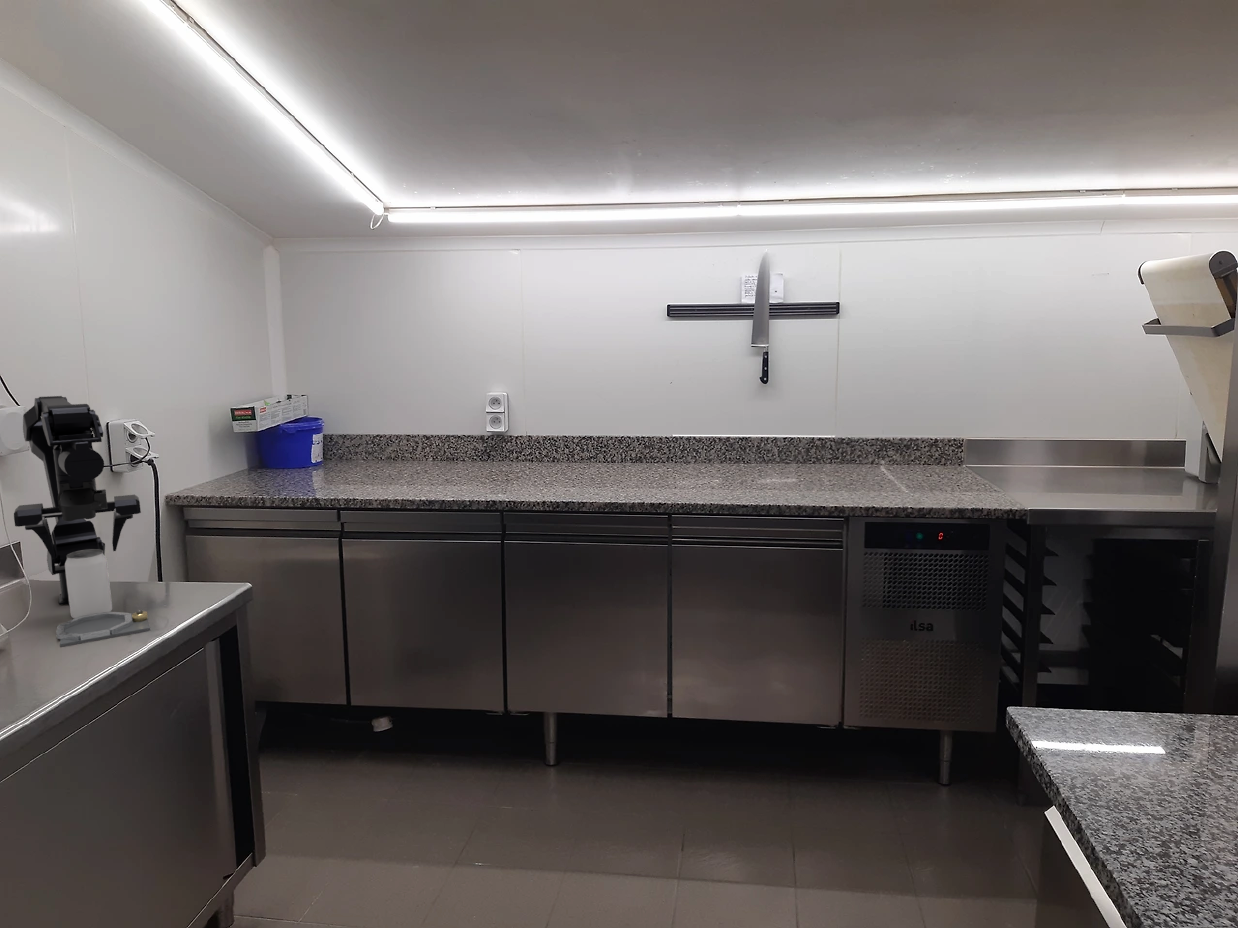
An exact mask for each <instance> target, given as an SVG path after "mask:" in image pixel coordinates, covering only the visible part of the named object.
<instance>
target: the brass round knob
mask: <svg viewBox="0 0 1238 928" xmlns="http://www.w3.org/2000/svg"><path fill="white" fill-rule="evenodd" d="M147 619H148V620H149V615H148V611H147V610H143V609H142V608H141V609H136V610H135V612H133V614H132V621H133V622H142V621H145V620H147Z"/></svg>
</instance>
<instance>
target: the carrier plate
mask: <svg viewBox="0 0 1238 928" xmlns="http://www.w3.org/2000/svg"><path fill="white" fill-rule="evenodd" d="M133 613H134V612H133ZM133 613H131V612H130V614H131V617H132V614H133ZM123 622H125V619H118V618H102V619H96V620H91V621H85V622H81V623H79V624H77V625H74V626H72V627H70V628H67V629H65V631H64V632H66V633H77V634H84V633H90V632H95V631H101V630H106V629H110V628H112V627H114V626H116V625H118V624H121V623H123ZM148 630H150V631H151V627H150V622H149V618H148V619H147V620H145V621H142V622H133V621H132V626H129V627H127V628H125V629H123V630H121V631H119V632H117V633H114V634H110V635H108V636H103V637H97V638H92V639H86V640H79V641H77V640H66V639H59V640H60V641H59V647H60V648H62V647H68V646H74V645H79V644H85V643H90V642H91V643H92V642H95V641H100V640H105V639H112V638H118V637H123V636H127V635H133V634H139V633H143V632H149V631H148Z"/></svg>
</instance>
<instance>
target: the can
mask: <svg viewBox="0 0 1238 928" xmlns="http://www.w3.org/2000/svg"><path fill="white" fill-rule="evenodd" d="M108 567H109V566H108V559H107V557H106V555H105V556H104V554H103V550H100V549H88V550H81V551H76V552H72V553H70V554H68V555H67V560H66V562H65V572H66V580H67V589H68V597H69V603H68V605H69V611H70V617H71V618H72V619H75V618H77V617H81V616H85V615H91V614H97V613H103V612H110V611H111V612H112V610H113V603H112V602H113V600H112V594H111V593H112V591H111V584H110V576H109V568H108Z"/></svg>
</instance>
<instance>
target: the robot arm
mask: <svg viewBox="0 0 1238 928" xmlns="http://www.w3.org/2000/svg"><path fill="white" fill-rule="evenodd" d="M33 403H34V405H33V406H32V407H31V408H29V409H28V410H27V411H26V412H25V413H24V414H23V415H22V416H23V417H22V433H23V438H24V441H25V442H28V444H29V448H30V452H31V453H32V454H33V455H35V456H36V457H37V458H38V459H39V460H41V461H42V462H43V466H44V471H45V476H46V481H47V484H48V485H47V486H48V490H49V495H50V500H51V505H52V507H51V506H50V507H44V505H43V503H41V502H40V503H35V504H34V503H31V504H21V505H20V504H19V505H18V506H17V507H16V508H15V510H14V513H13V519H14V527H19V528H20V527H24V530H25V531H33V533H34V534H36V535H37V536H38V537H39V538H40V540H41V541H42V543H43V544H44V546H45V548H46V549H47V550H46V554H47V555H46V561H47V562H46V563H47V568H48V571H49V572H50V574H51V575H52V576H55V575H58V579H59V584H60V585H59V586H60V593H59V598H58V605H59V606H60V605H61V606H62V605H67V604H68V605H69V597H68V589H67V580H66V572H65V562H66V560H67V555H68V554H70V553H72V552H76V551H81V550H88V549H100V550H103V554H104V556H105V557H106V555H105V552H106V543H105V542H103V541H102V539H101V537H100V536H97V532H96V527H95V526H94V523H93V522H92V521H91V519H94V518H95V517H96V516H97V515H96V514H100V513H109V512H113V521H112V522H113V523H112V540H111V542H112V543H111V544H112V551H113V552H116V551H117V549H118V548H117V547H118V544H119V541H120V536H121V533H122V529H123V527H124V525H125V524H126V522H127V521H128V520H131V519H133V518H134V515H138V514H141V513H142V510H141V502H140V498H139V497H138V496H137V495H136V494H126V495H118V496H117V495H116V496H114V498H113V499H114V500H112V501H108V500H107V490H106V489H105V488H104V489H97V484H96V478H98V477H99V476H100V475H101V474H102V472H103V471H104V468H105V461H104V458H103V457H102V455H101V454H100V453H99V452H97V451H96V450H94V448H93V444H92V443H102V441H103V439H102V438H103V437H104V430H103V427H102V424H101V423H102V422H101V420H100V417H99V415H98V414H97V413H96V410H94V409H91V407H90V405H89V404H87V403H79V404H77V403H74V404H71V402H69V400H68V398H67V397H66V396H62V395H56V396H55V395H54V396H53V395H51V396H38V397H35V398H34V402H33ZM50 518H55V522H56V523H55V526H54V527H53V529H52V531H51V530H50V527H49V521H48V519H50Z"/></svg>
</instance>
